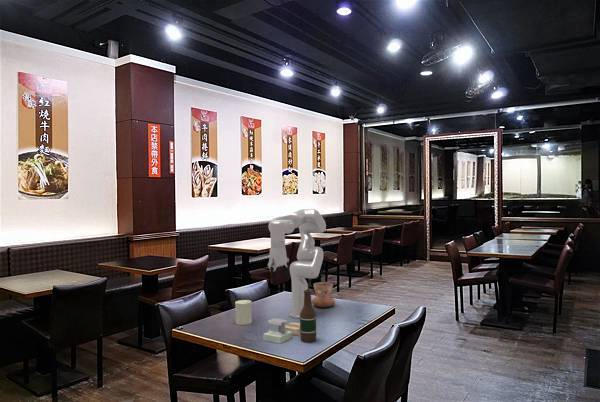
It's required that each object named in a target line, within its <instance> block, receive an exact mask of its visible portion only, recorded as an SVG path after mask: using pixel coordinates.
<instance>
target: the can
mask: <svg viewBox="0 0 600 402" xmlns="http://www.w3.org/2000/svg"><path fill="white" fill-rule="evenodd" d="M234 303H235V321H234V322H235V323H234V324H235V325H238V326H239V325H240V326H244V325H245V326H247V325H250V324H252V323H253V317H252V312H253V311H252V307H253V306H252V300H249V299H241V300H240V299H239V300H236V301H235V302H234Z"/></svg>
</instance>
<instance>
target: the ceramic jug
mask: <svg viewBox="0 0 600 402" xmlns="http://www.w3.org/2000/svg"><path fill="white" fill-rule="evenodd" d="M333 286H334V284H333V283H331V282H325V281H324V282H315V283H313V289H314V291H315V294H316V296H314V297H313V299H312V298H311V302H312V306H314V307H317V308H321V309H323V308H324V309H325V308H330V307H332V306H334V305H335V304H336V300H335V299H334V298H333V297H332V296H331V293H332V290H333Z"/></svg>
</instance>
